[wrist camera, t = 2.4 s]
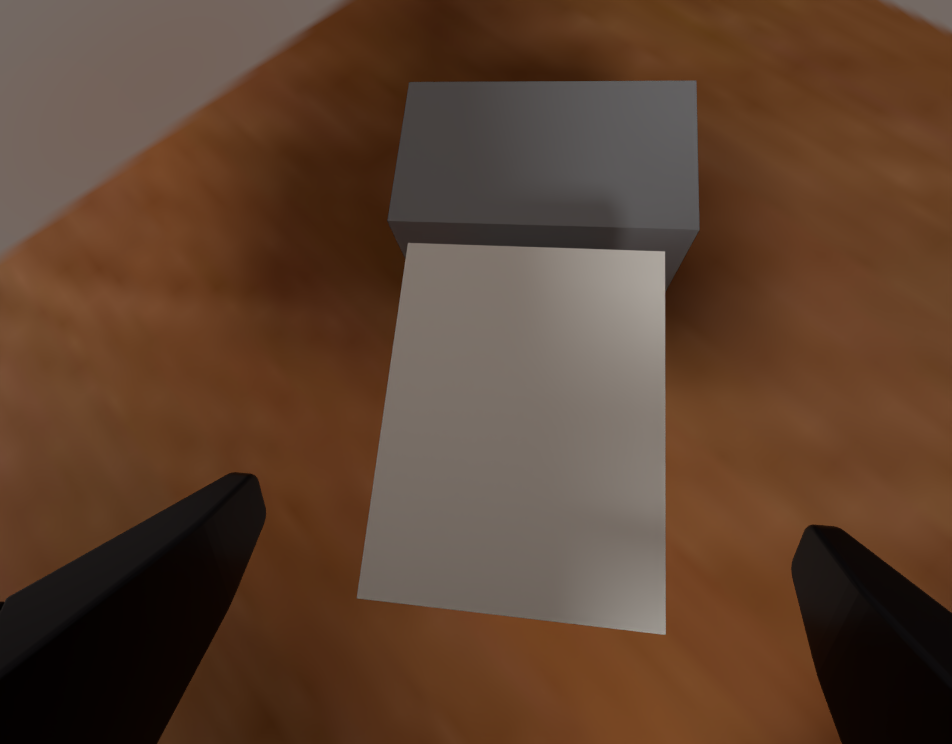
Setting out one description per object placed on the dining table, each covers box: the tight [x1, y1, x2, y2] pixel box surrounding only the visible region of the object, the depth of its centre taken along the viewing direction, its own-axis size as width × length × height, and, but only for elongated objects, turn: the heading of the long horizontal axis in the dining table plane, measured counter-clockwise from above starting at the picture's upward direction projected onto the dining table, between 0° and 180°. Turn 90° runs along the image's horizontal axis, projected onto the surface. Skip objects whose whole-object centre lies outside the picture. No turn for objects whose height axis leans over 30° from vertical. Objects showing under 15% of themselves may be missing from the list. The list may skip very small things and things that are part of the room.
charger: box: [357, 243, 666, 635], centre depth 14 cm, size 10×4×10 cm, turn 175°
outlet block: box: [387, 81, 699, 292], centre depth 16 cm, size 4×7×8 cm, turn 85°
